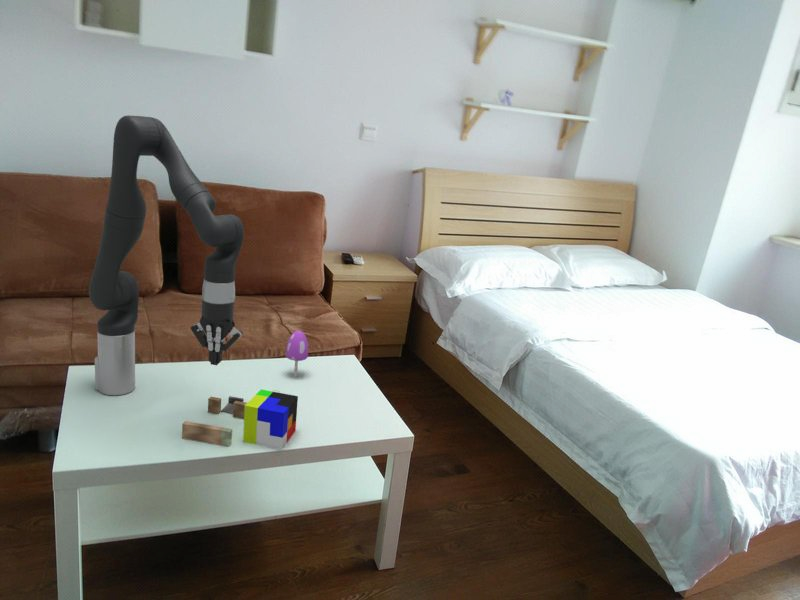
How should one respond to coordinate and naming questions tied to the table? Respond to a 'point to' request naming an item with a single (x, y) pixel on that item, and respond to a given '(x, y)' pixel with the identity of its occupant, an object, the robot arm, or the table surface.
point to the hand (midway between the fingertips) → (215, 363)
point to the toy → (297, 348)
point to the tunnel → (214, 432)
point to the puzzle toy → (270, 419)
